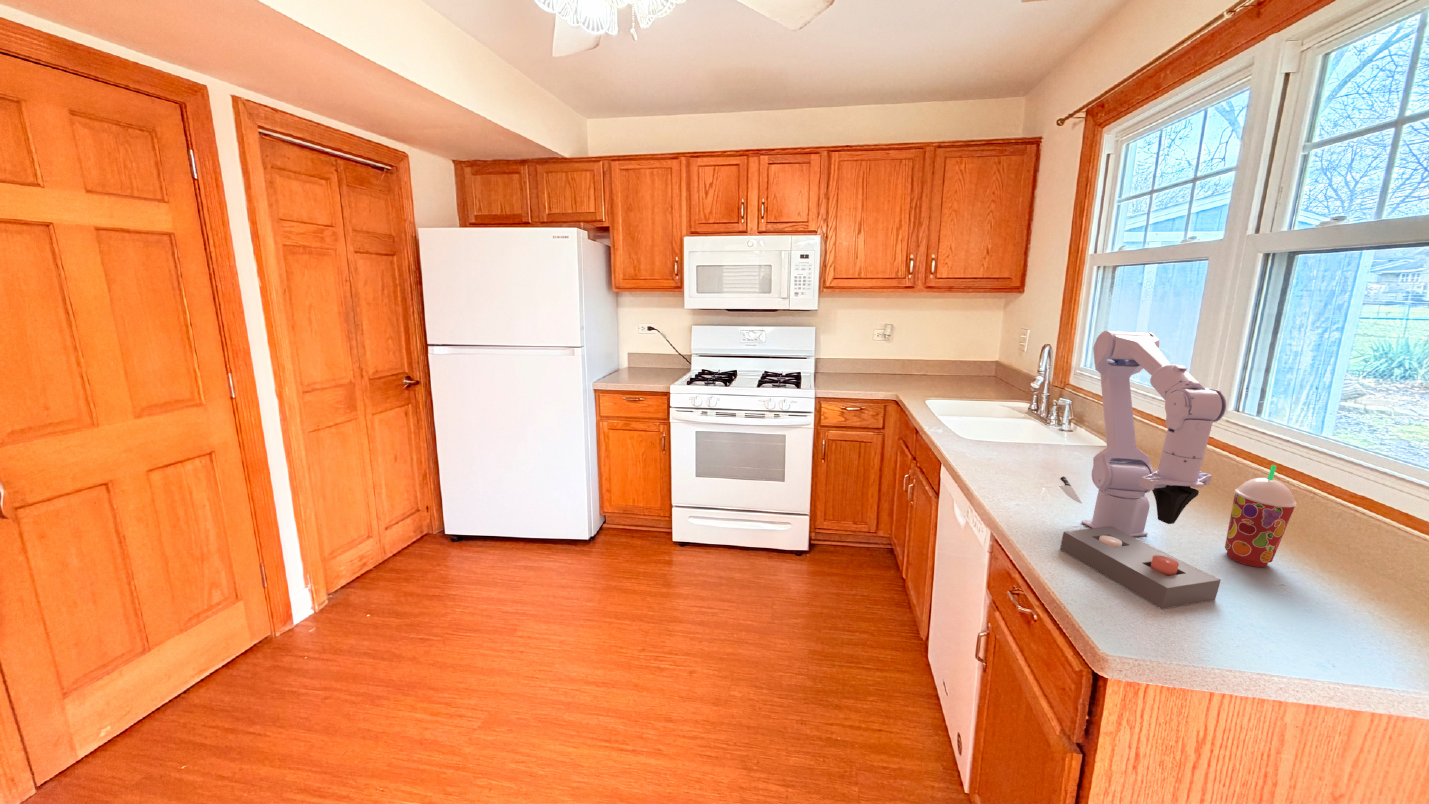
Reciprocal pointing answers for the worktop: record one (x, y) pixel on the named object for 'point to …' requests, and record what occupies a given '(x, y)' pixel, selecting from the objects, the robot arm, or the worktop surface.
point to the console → (1139, 568)
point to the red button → (1164, 565)
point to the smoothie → (1258, 520)
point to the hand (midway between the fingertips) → (1165, 521)
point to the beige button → (1110, 541)
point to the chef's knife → (1069, 490)
